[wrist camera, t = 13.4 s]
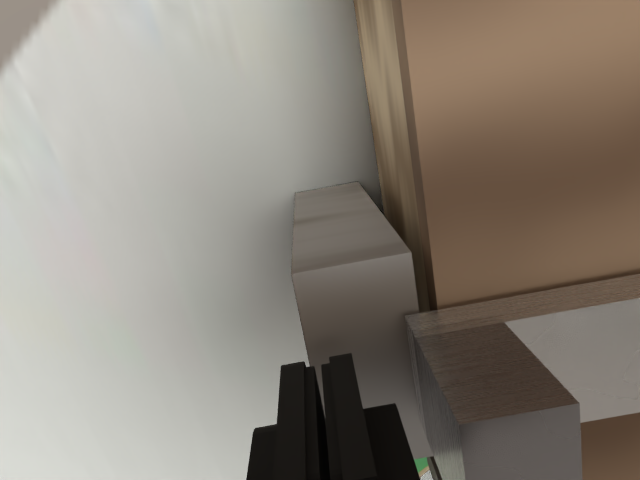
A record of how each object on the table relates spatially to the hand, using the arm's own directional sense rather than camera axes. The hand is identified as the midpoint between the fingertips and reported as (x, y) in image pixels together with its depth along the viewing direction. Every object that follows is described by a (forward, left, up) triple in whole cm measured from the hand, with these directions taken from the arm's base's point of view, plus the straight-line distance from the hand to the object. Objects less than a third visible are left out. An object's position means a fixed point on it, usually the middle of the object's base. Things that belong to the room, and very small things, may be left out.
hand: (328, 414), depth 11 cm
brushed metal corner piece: (0, -6, -1) cm, 6 cm away
